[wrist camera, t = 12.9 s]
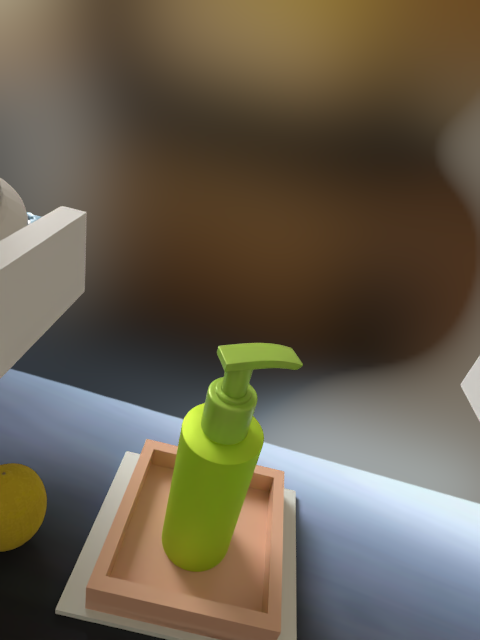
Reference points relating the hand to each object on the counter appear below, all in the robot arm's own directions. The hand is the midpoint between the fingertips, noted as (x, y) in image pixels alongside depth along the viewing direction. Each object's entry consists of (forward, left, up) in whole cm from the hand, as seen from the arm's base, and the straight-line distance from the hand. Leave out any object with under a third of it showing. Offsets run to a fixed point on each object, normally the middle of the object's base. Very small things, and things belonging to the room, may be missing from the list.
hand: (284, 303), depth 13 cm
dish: (0, +10, -30) cm, 31 cm away
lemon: (-15, +7, -30) cm, 35 cm away
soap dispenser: (0, +10, -29) cm, 31 cm away
